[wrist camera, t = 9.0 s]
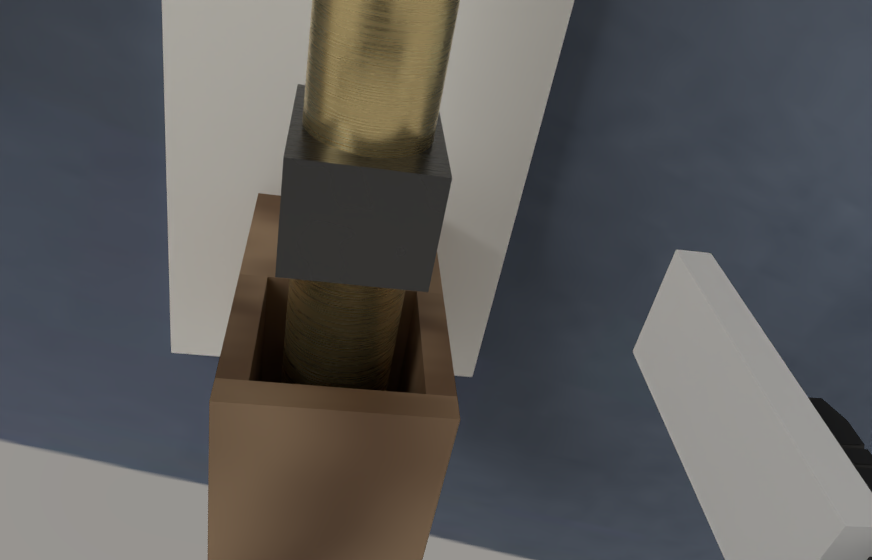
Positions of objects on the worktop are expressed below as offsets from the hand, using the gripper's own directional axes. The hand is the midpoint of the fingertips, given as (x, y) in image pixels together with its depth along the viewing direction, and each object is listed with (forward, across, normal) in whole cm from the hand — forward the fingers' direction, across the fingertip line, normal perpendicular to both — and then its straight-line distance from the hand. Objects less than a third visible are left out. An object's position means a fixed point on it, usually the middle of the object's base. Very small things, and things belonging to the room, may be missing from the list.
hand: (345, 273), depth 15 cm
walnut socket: (+11, 0, -8) cm, 14 cm away
